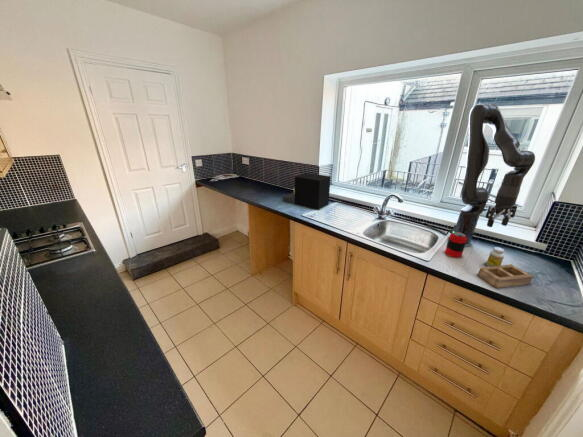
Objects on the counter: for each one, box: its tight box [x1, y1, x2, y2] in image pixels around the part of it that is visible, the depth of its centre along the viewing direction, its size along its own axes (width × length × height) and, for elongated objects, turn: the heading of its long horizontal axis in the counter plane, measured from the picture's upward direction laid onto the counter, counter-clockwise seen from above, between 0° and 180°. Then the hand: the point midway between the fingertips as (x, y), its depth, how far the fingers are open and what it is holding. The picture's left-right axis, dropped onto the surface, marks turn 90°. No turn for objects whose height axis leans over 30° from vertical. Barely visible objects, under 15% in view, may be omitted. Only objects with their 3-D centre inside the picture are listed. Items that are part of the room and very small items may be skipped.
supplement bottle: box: [485, 246, 505, 267], centre depth 119 cm, size 5×5×10 cm
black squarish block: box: [282, 172, 332, 211], centre depth 202 cm, size 18×35×24 cm, turn 55°
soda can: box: [444, 232, 467, 259], centre depth 128 cm, size 8×8×12 cm
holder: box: [477, 264, 534, 289], centre depth 110 cm, size 10×17×4 cm, turn 100°
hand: (496, 225), depth 120 cm, fingers open, 8 cm apart
